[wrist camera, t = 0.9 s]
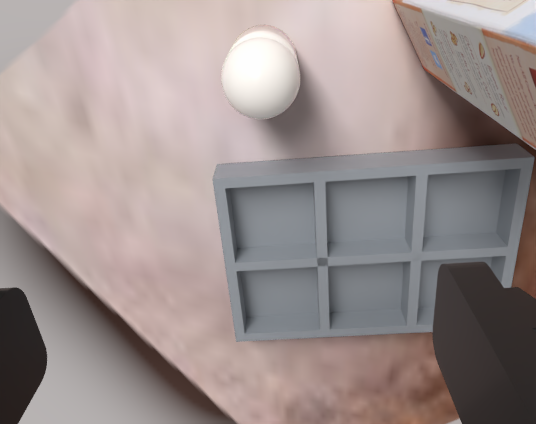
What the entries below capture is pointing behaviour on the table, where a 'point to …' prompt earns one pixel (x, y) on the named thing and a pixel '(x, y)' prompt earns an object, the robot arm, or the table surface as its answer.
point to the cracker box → (480, 54)
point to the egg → (261, 73)
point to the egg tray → (363, 236)
